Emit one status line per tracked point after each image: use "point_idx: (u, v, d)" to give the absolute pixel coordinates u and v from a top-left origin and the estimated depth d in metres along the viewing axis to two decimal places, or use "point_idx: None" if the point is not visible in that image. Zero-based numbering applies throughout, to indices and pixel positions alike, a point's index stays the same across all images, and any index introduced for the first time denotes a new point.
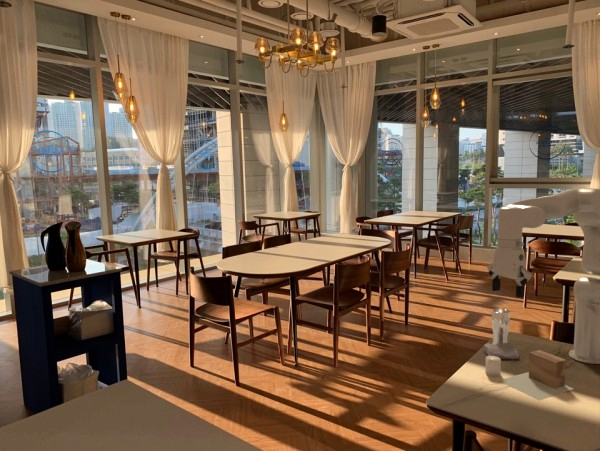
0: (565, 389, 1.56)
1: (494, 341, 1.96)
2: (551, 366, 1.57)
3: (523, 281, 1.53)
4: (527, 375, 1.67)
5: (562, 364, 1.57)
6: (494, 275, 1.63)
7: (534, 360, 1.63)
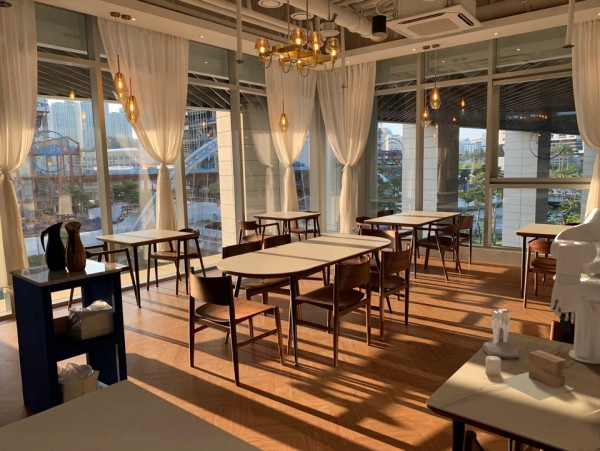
0: (565, 389, 1.56)
1: (494, 341, 1.96)
2: (551, 366, 1.57)
3: (572, 314, 1.64)
4: (527, 375, 1.67)
5: (562, 364, 1.57)
6: (567, 315, 1.62)
7: (534, 360, 1.63)
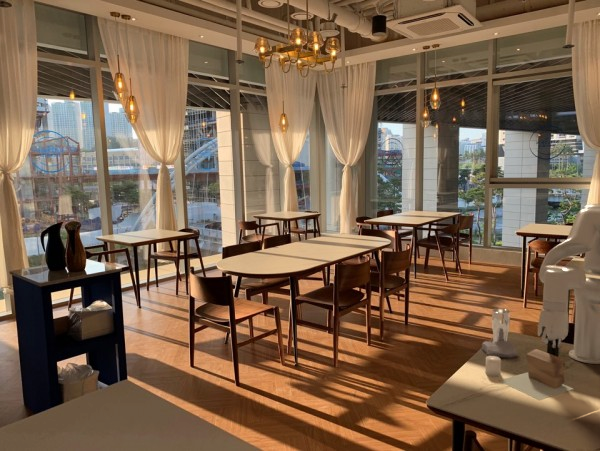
0: (565, 389, 1.56)
1: (494, 341, 1.96)
2: (548, 367, 1.57)
3: None
4: (527, 375, 1.67)
5: (559, 364, 1.57)
6: (554, 342, 1.60)
7: (531, 361, 1.63)
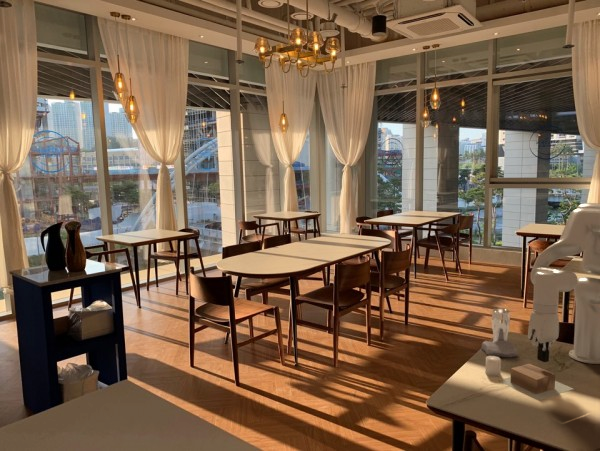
0: (565, 389, 1.56)
1: (494, 341, 1.96)
2: None
3: None
4: None
5: (539, 384, 1.53)
6: (544, 345, 1.58)
7: None
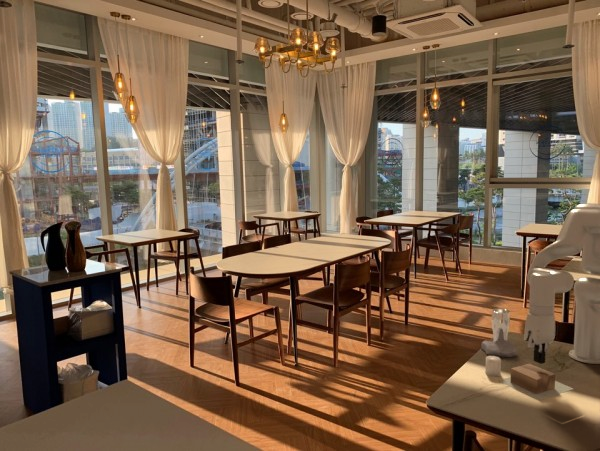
0: (565, 389, 1.56)
1: (494, 341, 1.96)
2: None
3: (546, 345, 1.59)
4: None
5: (539, 384, 1.53)
6: (540, 347, 1.57)
7: None
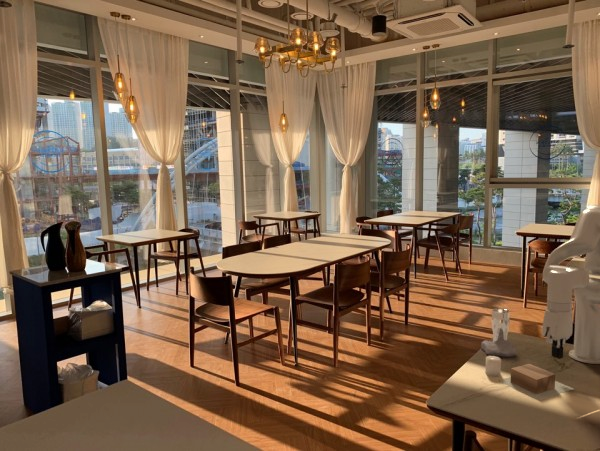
0: (565, 389, 1.56)
1: None
2: None
3: None
4: None
5: (539, 384, 1.53)
6: (558, 342, 1.61)
7: None
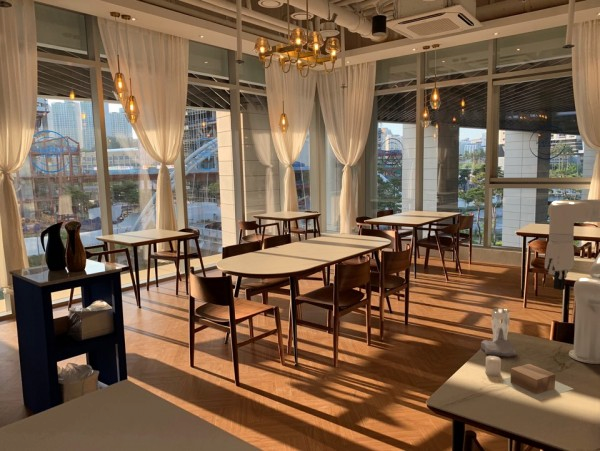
0: (565, 389, 1.56)
1: None
2: None
3: None
4: None
5: (539, 384, 1.53)
6: (561, 273, 1.65)
7: None
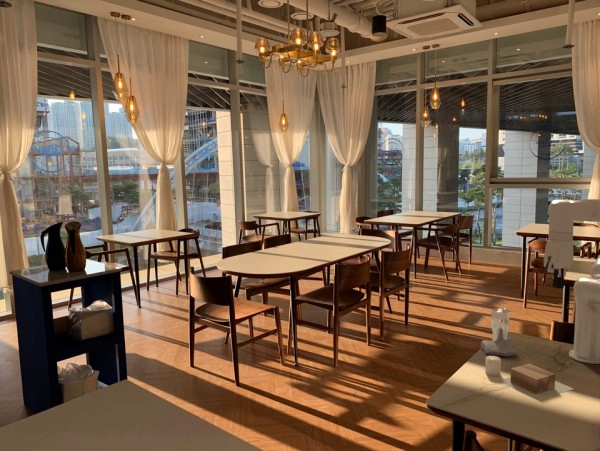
0: (565, 389, 1.56)
1: (494, 340, 1.97)
2: None
3: None
4: None
5: (539, 384, 1.53)
6: (560, 272, 1.66)
7: None
